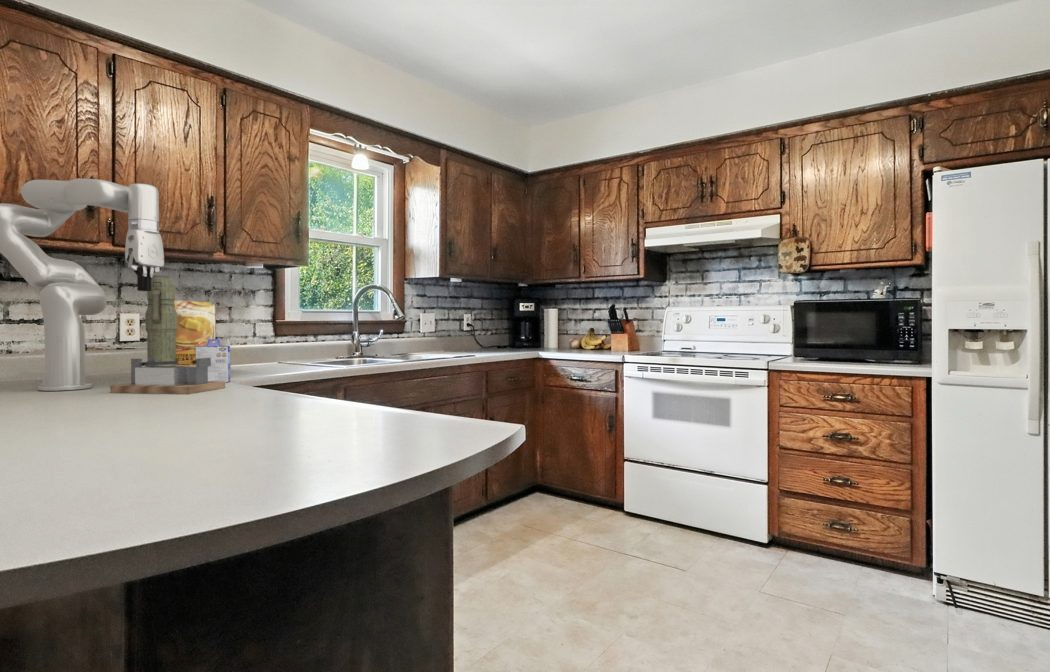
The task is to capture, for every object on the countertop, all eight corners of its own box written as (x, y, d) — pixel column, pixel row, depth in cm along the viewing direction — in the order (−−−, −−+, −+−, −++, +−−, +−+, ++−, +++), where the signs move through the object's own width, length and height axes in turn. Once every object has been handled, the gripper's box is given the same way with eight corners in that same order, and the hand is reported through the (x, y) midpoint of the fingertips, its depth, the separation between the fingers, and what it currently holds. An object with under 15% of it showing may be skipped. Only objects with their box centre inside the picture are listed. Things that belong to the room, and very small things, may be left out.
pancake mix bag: (154, 380, 204) (154, 299, 204) (216, 377, 213) (216, 300, 213) (153, 381, 198) (152, 298, 198) (217, 379, 208) (216, 300, 207)
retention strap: (133, 366, 170) (133, 362, 170) (149, 365, 176) (149, 361, 176) (191, 363, 168) (190, 360, 168) (205, 362, 174) (204, 358, 174)
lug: (188, 384, 168) (188, 358, 168) (200, 383, 173) (200, 357, 173) (199, 384, 168) (199, 358, 168) (210, 383, 173) (210, 357, 173)
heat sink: (135, 385, 167) (135, 367, 167) (166, 381, 179) (165, 364, 178) (174, 385, 165) (173, 368, 165) (202, 381, 177) (202, 365, 177)
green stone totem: (142, 385, 185) (141, 274, 184) (149, 382, 196) (148, 277, 195) (174, 384, 188) (173, 275, 187) (180, 381, 199) (179, 278, 198)
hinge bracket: (131, 384, 169) (131, 358, 169) (150, 381, 177) (150, 357, 176) (138, 384, 169) (138, 358, 169) (158, 382, 176) (157, 357, 176)
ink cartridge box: (231, 381, 200) (230, 338, 200) (229, 382, 195) (228, 339, 195) (198, 382, 197) (198, 339, 197) (195, 383, 192) (194, 339, 192)
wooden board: (110, 392, 165) (110, 385, 165) (153, 386, 181) (152, 380, 181) (188, 394, 162) (188, 386, 162) (225, 388, 178) (225, 381, 178)
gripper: (135, 222, 163) (136, 289, 163) (174, 231, 178) (174, 292, 178) (111, 223, 164) (111, 289, 164) (151, 232, 179) (152, 292, 179)
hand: (144, 290), depth 171 cm, fingers closed
